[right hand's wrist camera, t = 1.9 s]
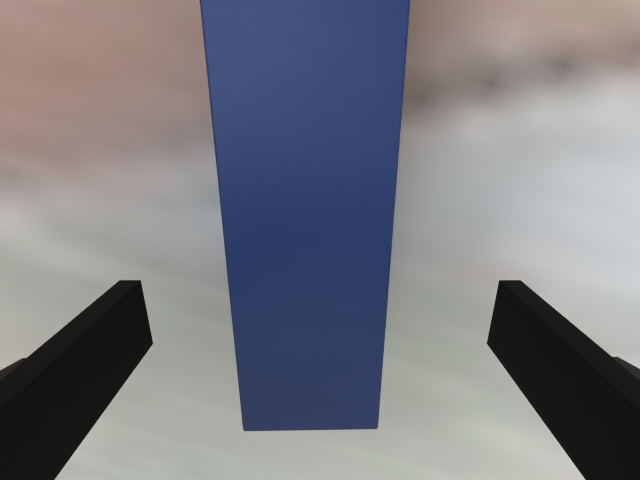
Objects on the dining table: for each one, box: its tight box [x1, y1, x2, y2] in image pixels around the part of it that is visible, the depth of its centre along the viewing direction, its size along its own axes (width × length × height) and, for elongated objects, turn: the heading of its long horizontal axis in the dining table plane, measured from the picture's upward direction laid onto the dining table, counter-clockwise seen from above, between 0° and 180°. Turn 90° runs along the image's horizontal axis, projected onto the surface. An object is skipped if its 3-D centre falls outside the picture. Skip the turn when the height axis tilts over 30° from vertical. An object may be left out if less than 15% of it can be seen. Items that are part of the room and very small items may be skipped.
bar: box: [200, 0, 410, 431], centre depth 12 cm, size 27×5×8 cm, turn 0°
